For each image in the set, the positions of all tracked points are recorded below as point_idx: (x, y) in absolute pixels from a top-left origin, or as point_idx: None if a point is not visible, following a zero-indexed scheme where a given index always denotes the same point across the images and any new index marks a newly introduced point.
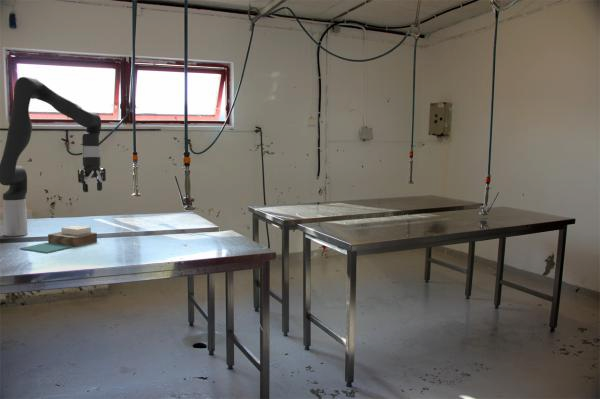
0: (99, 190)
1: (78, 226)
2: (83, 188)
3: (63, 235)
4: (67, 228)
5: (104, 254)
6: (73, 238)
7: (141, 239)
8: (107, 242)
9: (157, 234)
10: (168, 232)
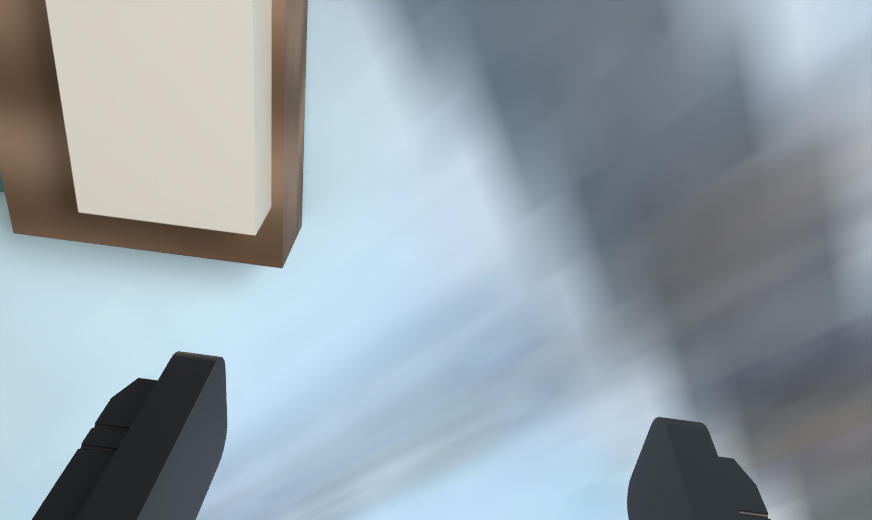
0: (633, 473)
1: (218, 78)
2: (96, 451)
3: (11, 55)
4: (54, 54)
5: (55, 475)
6: (15, 221)
7: (528, 445)
8: (335, 300)
9: (750, 453)
10: (852, 483)
